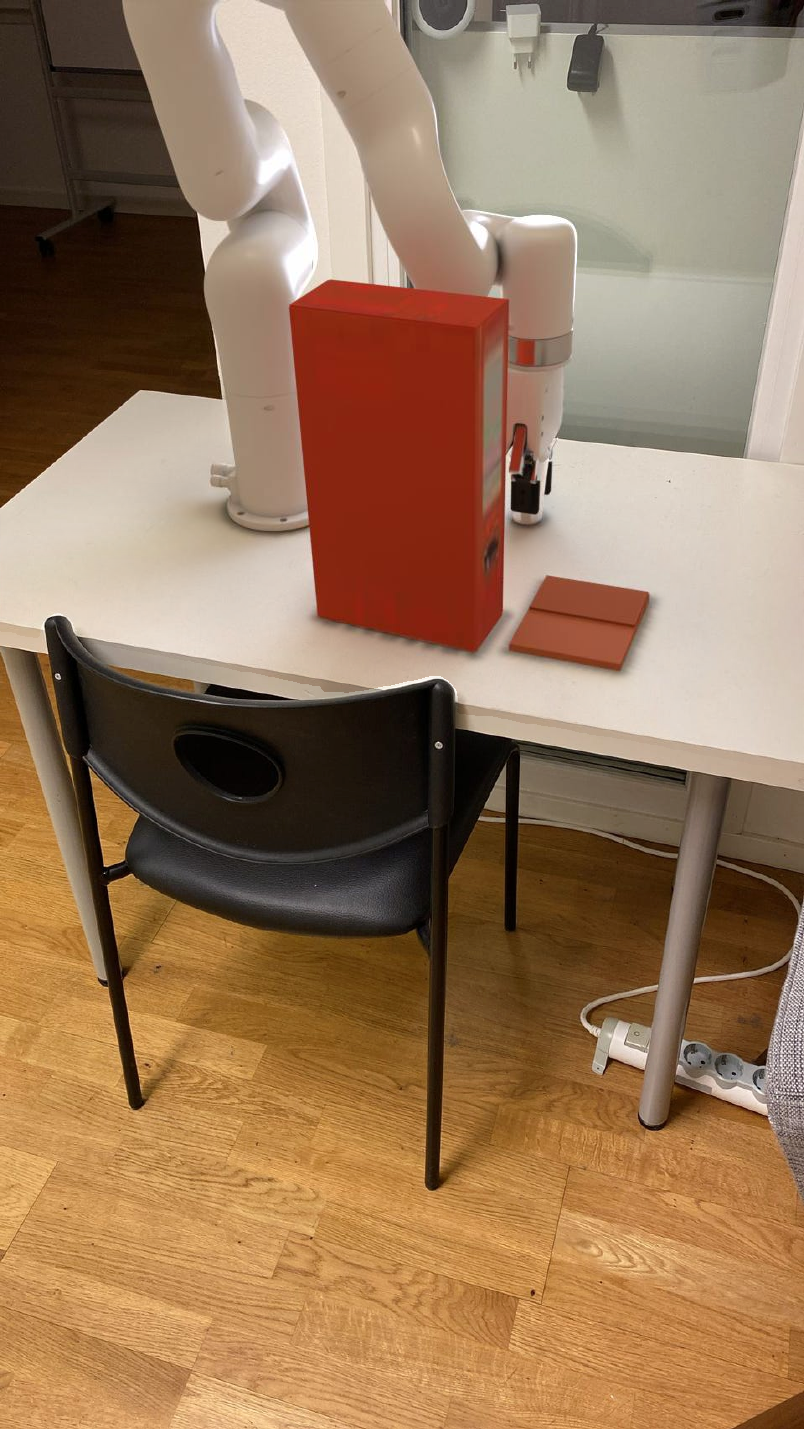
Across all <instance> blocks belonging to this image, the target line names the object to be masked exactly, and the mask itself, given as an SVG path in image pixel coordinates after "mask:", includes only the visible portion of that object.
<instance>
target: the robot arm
mask: <svg viewBox="0 0 804 1429" xmlns="http://www.w3.org/2000/svg"><path fill="white" fill-rule="evenodd" d="M228 1H230V0H122V1H121V2H122V11H123V15H124V20H125V24H126V27H127V28H126V29H127V31H128V34H129V38H130V41H131V43H132V44H131V45H132V47H133V49H134V52H135V55H136V58H137V61H138V63H139V66H140V68H141V71H142V74H143V78H144V80H145V83H146V87H147V89H148V92H149V95H150V99H151V102H152V106H153V109H154V112H155V115H156V118H157V122H158V124H159V127H160V130H161V133H162V136H163V139H164V141H165V145H166V149H167V151H168V155H169V158H170V160H171V164H172V166H173V170H174V172H175V176H176V179H177V182H178V185H179V187H180V190H181V192H182V194H183V196H184V198H185V200H186V201H187V203H188V204H189V206H190V207H191V209H193V210H194V211H195V212H196V213H197V214H199V215H200V216H201V217H203V218H205V219H207V220H209V221H213V222H226V225H227V228H228V231H229V233H228V234H226V235H225V237H224V238H223V239H222V240H221V241H220V242H219V243H218V245H217V246H216V248H214V250H213V251H212V253H211V256H210V258H209V260H208V262H207V265H206V268H205V272H204V277H203V278H204V280H203V294H204V299H205V305H206V309H207V314H208V316H209V321H210V323H211V326H212V330H213V333H214V337H215V342H216V346H217V353H218V358H219V364H220V371H221V377H222V384H223V385H222V386H223V388H224V395H225V402H226V410H227V416H228V422H229V423H228V424H229V431H230V432H229V433H230V439H231V446H232V454H233V462H234V464H229V463H226V462H219V461H214V462H212V463H211V466H210V475H211V477H210V482H209V483H210V486H211V487H214V488H221V489H222V488H224V489H225V488H226V489H227V490H228V491H229V492H230V495H229V496H228V498H227V501H226V506H227V513H228V516H229V517H230V518H231V520H233V522H235V523H237V524H238V525H240V526H242V527H244V528H247V529H251V530H255V531H260V532H261V531H262V532H283V531H284V532H285V531H292V530H296V529H300V528H301V529H302V528H304V527H307V526H309V519H308V508H307V497H306V486H305V476H304V465H303V454H302V444H301V433H300V422H299V411H298V401H297V390H296V379H295V369H294V358H293V347H292V336H291V326H290V315H289V307H290V306H289V305H290V304H291V303H293V302H294V301H296V300H298V299H299V298H300V297H301V296H302V294H303V291H304V290H305V288H306V287H307V285H308V284H309V283H310V281H311V279H312V277H313V275H314V273H315V271H316V268H317V264H318V258H319V247H318V240H317V234H316V230H315V226H314V223H313V219H312V216H311V212H310V209H309V204H308V201H307V197H306V194H305V191H304V187H303V183H302V180H301V177H300V174H299V173H300V172H299V170H298V167H297V166H298V165H297V162H296V159H295V156H294V152H293V149H292V145H291V143H290V141H289V138H288V136H287V134H286V132H285V130H284V128H283V126H282V125H281V123H280V121H279V120H278V119H277V118H276V116H275V115H274V114H273V113H272V112H271V111H270V110H269V109H268V108H266V107H265V106H264V105H263V104H260V103H258V102H256V101H253V100H252V99H251V100H250V99H246V98H244V96H243V93H242V91H241V88H240V84H239V82H238V77H237V73H236V69H235V66H234V63H233V60H232V57H231V54H230V52H229V49H228V47H227V45H226V42H225V41H224V39H223V37H222V35H221V33H220V31H219V28H218V25H217V12H218V9H219V8H220V7H221V6H222V5H223V4H225V3H227V2H228ZM255 1H256V2H260V3H261V4H264V5H267V6H268V7H269V6H270V7H272V8H274V9H277V10H280V11H282V12H284V15H285V17H286V20H287V22H288V24H289V26H290V29H291V31H292V32H293V35H294V37H295V38H296V40H297V42H298V44H299V46H300V47H301V49H302V51H303V53H304V55H305V57H306V58H307V60H308V62H309V64H310V66H311V68H312V70H313V72H314V73H315V75H316V77H317V78H318V81H319V83H320V84H321V87H322V88H323V90H324V91H325V94H326V95H327V97H328V99H329V101H330V103H331V104H332V106H333V108H334V110H335V112H336V114H337V116H338V118H339V120H340V122H341V123H342V126H343V127H344V129H345V131H346V133H347V135H348V137H349V139H350V140H351V143H352V145H353V147H354V149H355V152H356V155H357V159H358V162H359V166H360V170H361V172H362V176H363V178H364V181H365V183H366V186H367V188H368V191H369V194H370V197H371V201H372V203H373V206H374V209H375V212H376V214H377V217H378V219H379V222H380V224H381V227H382V230H383V231H384V233H385V236H386V238H387V240H388V242H389V243H390V246H391V248H392V250H393V252H394V253H395V256H396V258H397V259H398V260H399V263H400V264H401V266H402V268H403V269H404V271H405V274H406V275H407V277H408V279H409V281H410V282H411V284H412V286H413V288H414V289H421V290H430V291H439V292H448V293H457V294H466V295H475V296H484V297H489V294H490V292H491V290H492V287H493V286H496V287H498V288H499V291H500V294H499V296H500V297H499V298H502V299H509V331H508V381H507V431H506V456H507V455H508V454H509V450H510V449H511V448H512V446H513V448H512V454H511V459H510V465H508V473H509V474H510V473H511V477H510V510H511V512H512V511H514V512H520V513H527V514H534V515H536V514H537V513H538V512H539V504H540V481H539V480H537V478H538V466H539V458H541V457H542V456H543V454H544V453H545V451H546V450H547V449H548V450H549V452H550V451H551V449H552V447H553V445H554V439H555V438H556V436H557V434H558V433H559V431H560V428H561V426H562V421H563V412H564V394H565V390H564V388H565V387H564V386H565V366H567V365H568V364H570V362H571V361H572V356H573V355H572V352H573V338H574V337H573V336H574V334H573V333H574V313H575V312H574V310H575V293H576V275H577V274H576V273H577V272H576V271H577V255H578V254H577V253H578V235H577V234H578V233H577V230H576V228H575V225H574V224H573V223H572V222H570V221H569V220H567V219H566V218H563V217H559V216H555V215H548V214H547V215H546V214H536V215H527V216H522V217H516V216H509V215H503V214H498V213H492V212H487V211H482V210H474V209H461V208H460V205H459V204H458V202H457V200H456V197H455V194H454V192H453V191H452V187H451V185H450V182H449V179H448V176H447V174H446V170H445V166H444V163H443V159H442V155H441V150H440V142H439V132H438V131H439V130H438V119H437V113H436V108H435V104H434V101H433V97H432V94H431V92H430V90H429V88H428V85H427V84H426V81H425V80H424V79H423V76H422V74H421V73H420V70H419V68H418V67H417V64H416V62H415V60H414V58H413V56H412V54H411V52H410V50H409V48H408V46H407V45H406V42H405V40H404V38H403V36H402V34H401V31H400V30H399V28H398V26H397V24H396V22H395V20H394V17H393V16H392V13H391V12H390V9H389V8H388V6H387V0H255ZM526 449H528V450H530V451H533V453H526ZM553 456H554V447H553V449H552V451H551V453H550V456H549V462H548V469H547V476H546V484H545V492H544V496H549V495H550V494H551V492H552V483H553V482H552V480H553V461H552V459H553ZM524 460H525V461H532V463H531V470H530V468H529V466H525V464H524Z"/></svg>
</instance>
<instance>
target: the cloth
mask: <svg viewBox="0 0 804 1429" xmlns="http://www.w3.org/2000/svg"><path fill="white" fill-rule="evenodd" d="M650 596H651V594H650V592H649V591H645V590H639V589H633V588H628V587H621V586H616V585H615V586H614V585H609V584H603V583H596V582H590V581H584V580H578V579H573V578H566V577H560V576H553V575H548V574H547V575H545V578H544V579H543V581H542V582H541V584H540V586H539V588H538V590H537V592H536V594H535V595H534V597H533V599H532V601H531V602H530V605H529V606H528V609H527V610H526V612H525V614H524V616H523V618H522V620H521V621H520V623H519V624H518V627H517V629H516V630H515V633H514V634H513V636H512V638H511V640H510V641H509V643H508V650H509V651H511V652H515V653H516V652H517V653H521V654H528V655H533V656H538V657H542V658H543V657H544V658H548V659H554V660H559V661H565V662H569V663H574V664H575V663H576V664H581V665H587V666H591V667H596V668H602V669H608V670H613V671H619V672H620V671H622V670H621V669H622V668H623V665H624V662H625V660H626V658H627V655H628V653H629V651H630V648H631V645H632V643H633V641H634V639H635V636H636V633H637V632H638V628H639V626H640V624H641V621H642V619H643V616H644V614H645V611H646V610H647V607H648V604H649V602H650Z"/></svg>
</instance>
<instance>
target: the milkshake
mask: <svg viewBox="0 0 804 1429" xmlns="http://www.w3.org/2000/svg"><path fill="white" fill-rule="evenodd" d="M558 440H559V437H557V438H556V439H555V441H554V442H553V447H552V449H553V450H554V447H555V445H556V443H557V441H558ZM512 448H513V446H512ZM512 448H511V449H510V450H509V452H508V462H509V463H508V464H509V465H510V459H511V454H512ZM552 449H551V451H552ZM551 451H550V452H549V450H548V449H547V450H546V451H545V453H544V454H543V456H542V457H541V458H539V466H538V478H537V480H539V481H540V504H539V512H538V513H537V514H536V515H534V514H527V513H520V512H514V511H512V510H511V513H512V518H513V521H514V522H515V523H518V524H520V525H529V526H530V525H534V524H538V523H539V522H540V521H541V520H542V516H543V508H544V501H545V500H544V499H545V495H544V492H545V484H546V476H547V469H548V462H549V461H550V460H549V456H550V453H551ZM526 453H533V451H530V450H528V449H526ZM531 463H532V461H525V460H524V464H525V466H529V468H530V470H531ZM509 465H508V466H509ZM509 476H510V478H511V473H509Z"/></svg>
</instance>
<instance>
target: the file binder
mask: <svg viewBox="0 0 804 1429" xmlns="http://www.w3.org/2000/svg"><path fill="white" fill-rule="evenodd" d="M289 306H290V307H289V315H290V326H291V336H292V347H293V358H294V369H295V379H296V390H297V401H298V411H299V422H300V433H301V444H302V454H303V465H304V476H305V486H306V497H307V508H308V519H309V525H308V527H309V538H310V550H311V559H312V561H311V562H312V571H313V572H312V573H313V581H314V582H313V583H314V593H315V594H314V595H315V602H316V614H317V617H318V618H322V619H326V620H330V621H335V622H339V623H343V624H348V625H353V626H356V627H361V628H365V629H370V630H375V631H378V632H384V633H388V634H392V635H395V636H401V637H405V638H410V639H414V640H418V641H422V642H427V643H432V644H436V645H441V646H445V647H450V648H454V649H459V650H462V651H467V652H472V653H475V652H477V651H478V650H479V649H480V647H481V646H482V644H483V643H484V642H485V640H486V638H487V637H488V636H489V634H490V633H491V632H492V630H493V629H494V627H495V626H496V624H497V623H498V622H499V620H500V619H501V618H502V616H503V612H504V578H505V577H504V576H505V574H504V573H505V572H504V571H505V533H506V532H505V526H506V480H507V479H506V478H507V476H506V475H507V473H506V472H507V455H506V431H507V381H508V331H509V299H502V298H500V297H493V296H492V297H491V296H487V297H484V296H475V295H466V294H457V293H448V292H439V291H430V290H421V289H415V288H412V287H403V286H394V285H393V286H392V285H386V284H385V285H384V284H375V283H367V282H358V281H351V280H350V281H348V280H339V279H332V278H331V279H330V278H329V279H327V280H325V281H324V282H322V283H320V284H319V285H317V286H316V287H314V288H313V289H311V290H310V291H308V292H306V293H304V294H303V295H301V296H300V297H299V298H298V300H296V301H294V302H293V303H291V304H290V305H289Z"/></svg>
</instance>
